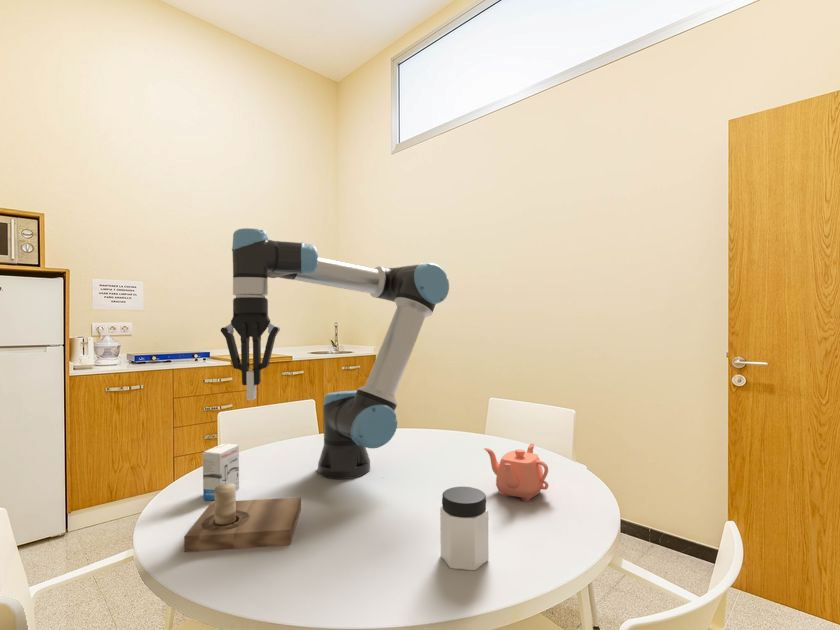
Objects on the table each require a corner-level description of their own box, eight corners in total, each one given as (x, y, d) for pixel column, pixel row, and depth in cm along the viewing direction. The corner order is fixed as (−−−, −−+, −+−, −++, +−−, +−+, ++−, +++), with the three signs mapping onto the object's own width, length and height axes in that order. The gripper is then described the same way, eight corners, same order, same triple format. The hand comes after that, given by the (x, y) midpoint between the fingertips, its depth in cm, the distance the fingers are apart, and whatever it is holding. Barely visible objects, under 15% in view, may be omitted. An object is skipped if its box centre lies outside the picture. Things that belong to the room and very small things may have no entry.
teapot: (505, 508, 106) (505, 461, 106) (483, 486, 120) (483, 444, 120) (561, 501, 110) (561, 456, 110) (533, 480, 124) (533, 440, 124)
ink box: (219, 501, 111) (219, 453, 111) (202, 499, 112) (201, 452, 112) (240, 488, 120) (239, 443, 120) (223, 486, 121) (223, 442, 121)
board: (301, 509, 106) (301, 497, 106) (290, 544, 90) (290, 529, 90) (211, 515, 104) (211, 502, 104) (184, 551, 88) (184, 536, 88)
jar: (460, 541, 91) (459, 482, 91) (495, 555, 86) (495, 492, 86) (432, 560, 84) (431, 496, 84) (468, 577, 79) (468, 508, 79)
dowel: (238, 529, 97) (237, 482, 97) (233, 538, 93) (232, 490, 93) (218, 531, 96) (217, 484, 96) (212, 540, 92) (211, 491, 92)
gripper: (282, 297, 109) (283, 395, 109) (225, 297, 107) (226, 397, 107) (276, 296, 102) (277, 401, 102) (215, 296, 100) (216, 403, 100)
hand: (251, 399), depth 105 cm, fingers closed
